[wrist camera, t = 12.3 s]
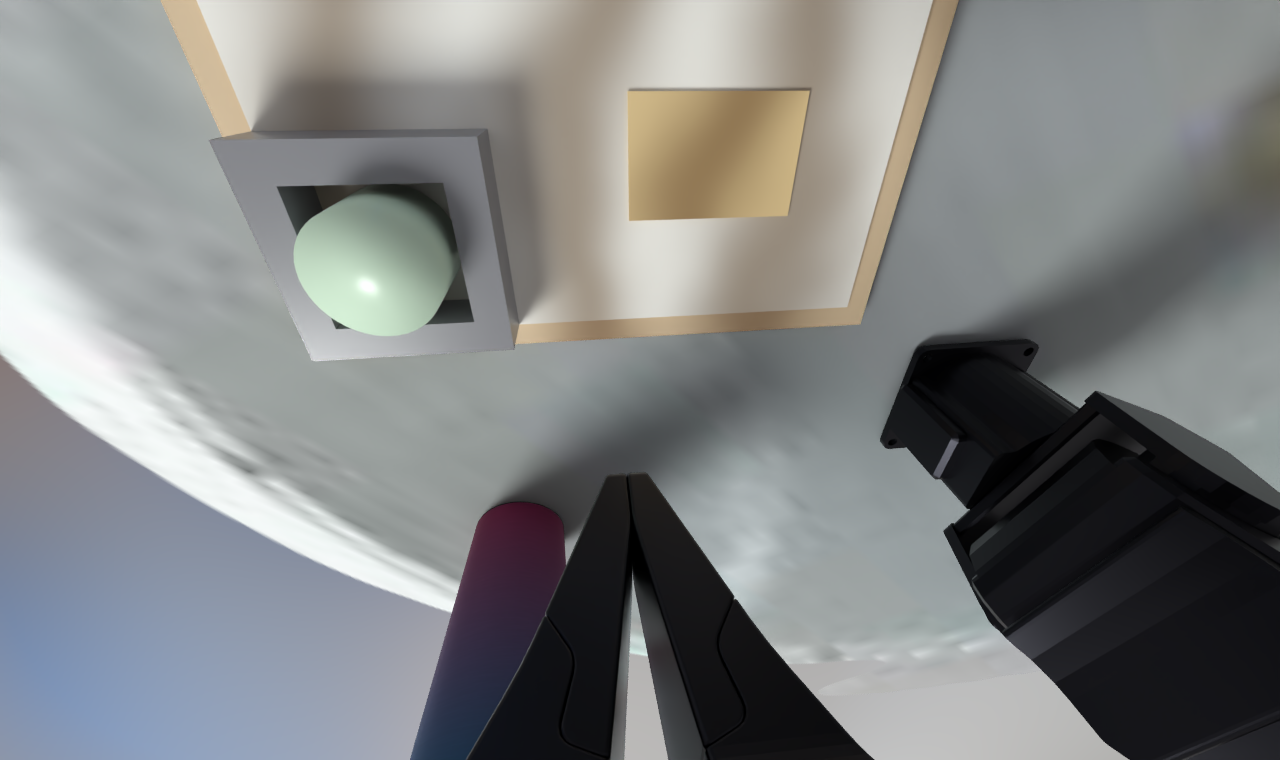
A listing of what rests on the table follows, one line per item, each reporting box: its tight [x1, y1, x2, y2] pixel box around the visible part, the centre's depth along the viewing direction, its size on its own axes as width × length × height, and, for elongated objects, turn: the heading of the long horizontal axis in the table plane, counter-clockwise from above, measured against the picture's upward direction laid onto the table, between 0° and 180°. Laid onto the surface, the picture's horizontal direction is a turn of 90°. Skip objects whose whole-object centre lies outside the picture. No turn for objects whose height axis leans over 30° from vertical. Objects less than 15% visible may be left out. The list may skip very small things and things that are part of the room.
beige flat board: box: [161, 0, 959, 344], centre depth 14 cm, size 23×20×1 cm
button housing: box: [209, 129, 519, 361], centre depth 16 cm, size 7×7×2 cm
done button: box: [293, 184, 461, 336], centre depth 15 cm, size 4×4×3 cm
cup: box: [410, 502, 566, 760], centre depth 21 cm, size 7×7×15 cm
